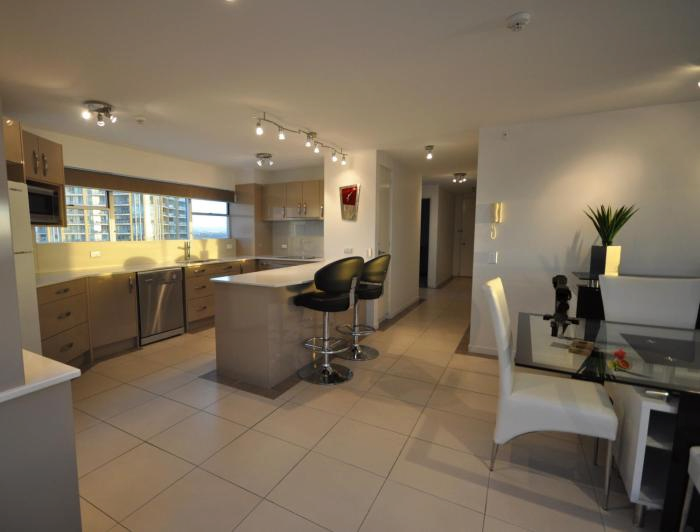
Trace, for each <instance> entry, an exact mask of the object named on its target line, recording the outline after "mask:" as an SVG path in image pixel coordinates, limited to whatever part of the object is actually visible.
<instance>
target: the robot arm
mask: <svg viewBox="0 0 700 532" xmlns="http://www.w3.org/2000/svg"><path fill="white" fill-rule="evenodd" d="M551 284H552V288H553V289H554V297H555V298H554V312H553V314H548V313H545V314H544V315H543V316H542V320H543V321H546V322H547V321H548V322H549V321H550V322H549V324H550V325H549V326H550V328H551V334H550V337H553V338H557V336H558V322H561V323H564V330H563V338H564V337H565V334H566V333H565V332H566V330H567V329H568V327H569V326H571V325H576V326H579V325H580V324H581V319H580V318H579V317H572V318H569V314H568V311H569V310H570V304H569V301H571V300H572V298H573V297H572V296H573V294H572V291H571V289H570V287H569V286H567V284H568V277H567V276H566V275H565V274H556V275H555V276H553V277H552V279H551Z"/></svg>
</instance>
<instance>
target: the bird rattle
mask: <svg viewBox="0 0 700 532" xmlns="http://www.w3.org/2000/svg"><path fill="white" fill-rule="evenodd" d="M626 355H627V352H626V351H624V350H623V349H622V348H620V349H618V350H615V351H614V352H613V357H616V358H614V360H613V361H612V360H609V361H608V365H609V369H610V368H611V369H610V370H614V369H616V370H617V368H618V369H619V370H621V369H622V370H621V371H623V370H626V371H628V372H629V371H630V370H632V369H633V367H634V365H633V361H632V360H630V358H628V357H627V356H626Z"/></svg>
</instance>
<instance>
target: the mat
mask: <svg viewBox="0 0 700 532" xmlns="http://www.w3.org/2000/svg"><path fill="white" fill-rule="evenodd" d="M570 345H571V344H568V343H561V342H556V341H552V343H551V344H550V345H549V347H551V348H552V347H553V348H558V349H563V350H569V347H570Z"/></svg>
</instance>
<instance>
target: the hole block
mask: <svg viewBox="0 0 700 532" xmlns="http://www.w3.org/2000/svg"><path fill="white" fill-rule="evenodd" d="M569 345H570V346H569V347H568V353H570V354H575V355H581V356H585V357H586V356H587V357H590V356H591V354H592V352H593V350H594V349H595V342H593V341H587V340H583V339H576V338H574V339H573V341H572V342H571V344H569Z"/></svg>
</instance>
